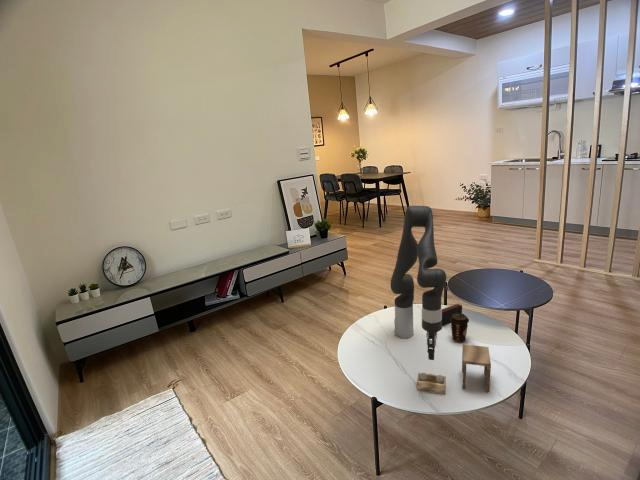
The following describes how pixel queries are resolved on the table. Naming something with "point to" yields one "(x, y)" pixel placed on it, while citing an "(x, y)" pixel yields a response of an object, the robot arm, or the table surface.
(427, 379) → the tray
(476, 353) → the wooden stool
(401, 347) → the table surface
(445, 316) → the radio
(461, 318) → the coffee cup
